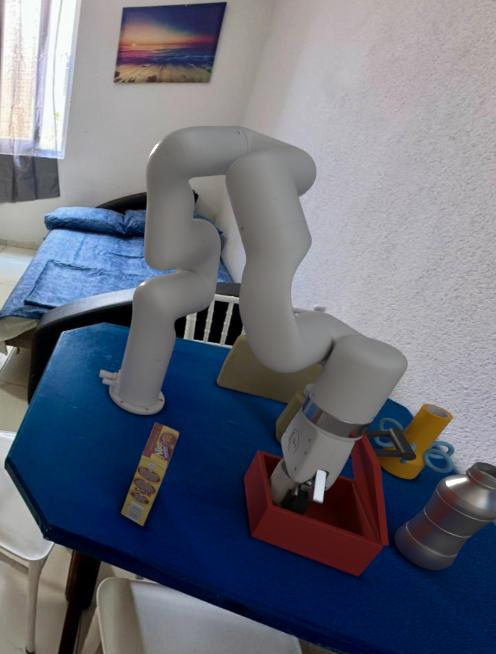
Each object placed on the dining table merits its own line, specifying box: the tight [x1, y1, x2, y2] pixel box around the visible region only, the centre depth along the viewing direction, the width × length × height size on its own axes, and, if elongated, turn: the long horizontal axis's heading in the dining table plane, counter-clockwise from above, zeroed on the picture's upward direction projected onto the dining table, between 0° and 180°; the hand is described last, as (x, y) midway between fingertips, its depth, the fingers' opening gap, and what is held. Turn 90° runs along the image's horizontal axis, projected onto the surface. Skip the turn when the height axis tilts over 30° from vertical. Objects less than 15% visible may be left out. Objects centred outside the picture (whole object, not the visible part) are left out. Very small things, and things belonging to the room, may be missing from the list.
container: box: [268, 459, 312, 507], centre depth 68 cm, size 6×6×6 cm
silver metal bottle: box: [393, 461, 496, 571], centre depth 61 cm, size 6×7×20 cm
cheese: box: [216, 334, 322, 405], centre depth 97 cm, size 22×10×15 cm, turn 75°
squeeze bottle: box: [275, 384, 314, 445], centre depth 82 cm, size 8×8×18 cm
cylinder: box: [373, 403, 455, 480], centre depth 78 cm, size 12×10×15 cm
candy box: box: [120, 422, 180, 527], centre depth 69 cm, size 9×4×15 cm, turn 145°
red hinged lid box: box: [243, 449, 384, 577], centre depth 69 cm, size 15×13×8 cm
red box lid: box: [350, 427, 416, 547], centre depth 61 cm, size 15×13×5 cm
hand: (287, 492), depth 69 cm, fingers open, 5 cm apart
